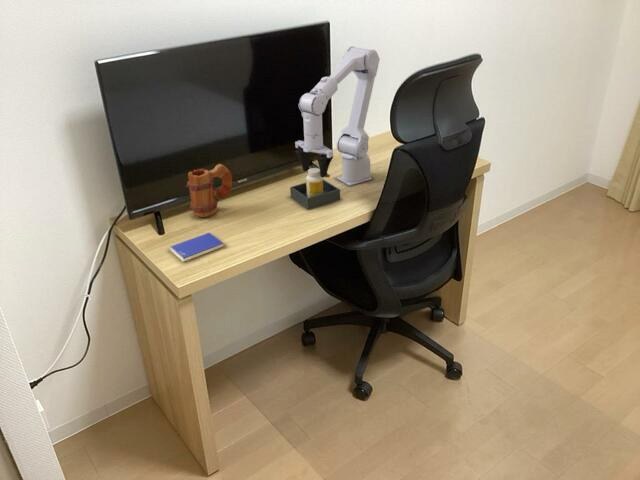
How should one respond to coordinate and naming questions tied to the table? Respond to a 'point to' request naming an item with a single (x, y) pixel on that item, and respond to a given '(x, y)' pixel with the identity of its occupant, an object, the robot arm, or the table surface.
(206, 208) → the mug
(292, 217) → the table surface
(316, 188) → the supplement bottle
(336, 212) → the table surface
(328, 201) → the bin
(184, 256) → the hard drive
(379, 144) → the table surface
